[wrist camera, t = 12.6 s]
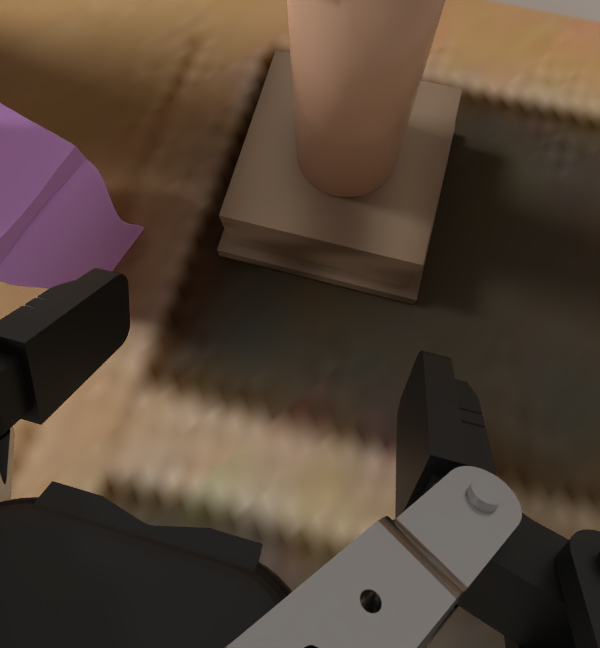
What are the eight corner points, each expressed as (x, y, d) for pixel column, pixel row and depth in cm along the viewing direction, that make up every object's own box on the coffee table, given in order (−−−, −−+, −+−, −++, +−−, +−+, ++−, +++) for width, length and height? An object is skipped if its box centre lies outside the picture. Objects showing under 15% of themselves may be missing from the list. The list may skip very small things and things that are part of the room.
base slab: (219, 255, 25) (203, 223, 21) (273, 94, 27) (268, 38, 24) (413, 304, 24) (433, 280, 20) (451, 132, 27) (475, 81, 23)
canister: (280, 187, 21) (246, -59, 11) (307, 97, 23) (302, -203, 12) (388, 211, 21) (467, -22, 10) (411, 117, 22) (501, -177, 11)
